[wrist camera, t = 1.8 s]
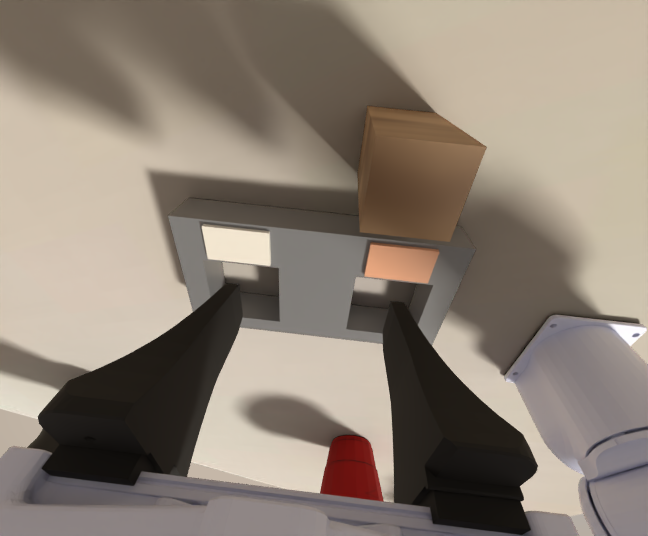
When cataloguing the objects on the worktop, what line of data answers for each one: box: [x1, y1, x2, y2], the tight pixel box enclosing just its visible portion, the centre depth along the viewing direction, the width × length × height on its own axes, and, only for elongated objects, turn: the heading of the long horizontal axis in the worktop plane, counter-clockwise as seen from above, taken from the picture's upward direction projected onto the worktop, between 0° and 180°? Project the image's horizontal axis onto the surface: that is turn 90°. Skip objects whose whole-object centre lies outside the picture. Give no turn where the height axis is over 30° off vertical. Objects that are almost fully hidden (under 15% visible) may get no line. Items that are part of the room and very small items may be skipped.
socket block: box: [168, 198, 476, 345], centre depth 23 cm, size 10×20×3 cm, turn 85°
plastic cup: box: [320, 435, 384, 502], centre depth 37 cm, size 11×11×12 cm
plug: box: [358, 106, 487, 242], centre depth 15 cm, size 4×4×8 cm
